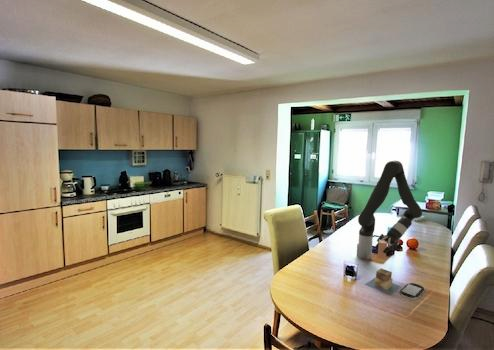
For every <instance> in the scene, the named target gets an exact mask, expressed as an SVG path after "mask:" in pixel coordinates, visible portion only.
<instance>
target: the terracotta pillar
mask: <svg viewBox="0 0 494 350" xmlns="http://www.w3.org/2000/svg"><path fill="white" fill-rule="evenodd" d="M387 246H388V244H387V242H386V241H382V240H379V245H378V249H377V258H379V259H384V260H386V259H387V253H386V254H385V253H384V252H383V251H384V250H385V248H386V247H387Z"/></svg>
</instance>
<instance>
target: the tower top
mask: <svg viewBox="0 0 494 350" xmlns="http://www.w3.org/2000/svg"><path fill="white" fill-rule="evenodd" d="M375 274H376V275H375V277H376V278H378V279H381V280H383V281H386V282H387V281H388V280H390V279H391V278H392V274H393V273H392V271H390V270H387V269H384V268H379V269H378V270H376V273H375Z"/></svg>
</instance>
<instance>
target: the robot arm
mask: <svg viewBox="0 0 494 350" xmlns="http://www.w3.org/2000/svg"><path fill="white" fill-rule="evenodd" d="M394 179H395V182H396V185H397V191H398V195H399V197H400V200H401V201H402V204H403V205H404V206H406V207H407V209H406V210H405V211H404V212H403V213H402V215H401V217H400V218H399V220H397V222H396V223H395V224H393V226H392V227H391V228H390V229H388V231H387V233H386V235H385V234H383V233H381V234H380V235H379V237H378V238H377V239H376V242H377V244H376V245H375V246H374V248H375V249H376V250H378V245H379V240H382V241H386V242H387V247H386V248H385V250H384V251H383V252H384V253H385V254H386V255H387V254H388V252H390V251H391V250H392V251H395V249H396V248H397V247H398V246H400V245H401V243H400V242H399V240H400V239H401V238H402V236H403V235H405V233H406V232H407V231H408V230H409V228H410V227H411V226H412V222H413V220H415V219H419V218H421V217H423V216H422V215H423V211H422V208H421V207H420V205H419V204H418V202H417V201H416V200H415V197H414V195H413V193H412V191H411V189H410V186H409V183H408V181H407V177H406V174H405V170H404V166H403V164H402V162H401V161H399V160H389V161H388V162H386V163H385V165H384V167H383V171H382V173H381V176H380V178H379V179H378V181H377V183H376V185H375V187H374V189H373V190H372V192H371V194H370V197H369V199H368V200H367V202H366V205H365V206H364V209H363V210H362V211H361V213H360V214H359V216H358V219H357V221H358V224H359V225H360V226H361V227H360V229H358V230H359V231H358V242H357V245H356V257H358V258H359V259H362V260H371V259H372V255H373V252H372V251H373V237H374V232H375V226H376V217H375V215H374V214H375V213H376V212H377V210H378V209H379V208H380V206H382V205H383V203H384V202H385V200H386V199H387V196H388V194H389V193H390V192H389V191H390V188H391V187H390V186H391V184H392V181H393V180H394Z"/></svg>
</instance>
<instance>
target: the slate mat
mask: <svg viewBox="0 0 494 350" xmlns="http://www.w3.org/2000/svg"><path fill="white" fill-rule="evenodd" d="M374 282H375V277H374V278H372V279H371V280H369V281H367V282H366V283H365V284H364V285H365V286H367V287H369V288H372V289H374V290H377V291H379V292H382V293H384V294H386V295H389V296H392V295H393V294H395V293H396V292H397V291H400V290H401V289H402V288H403V286H402V285H399V284H397V283H394V282H392V286H391V287H390V288H389V289H387V290H385V289H383V288H380V287H378V286H375V285H374Z"/></svg>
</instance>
